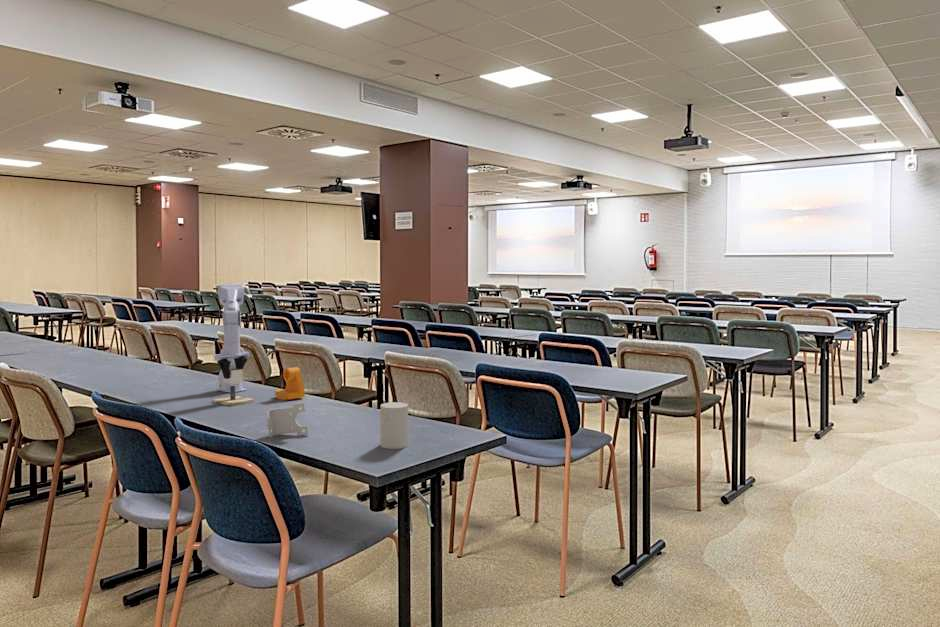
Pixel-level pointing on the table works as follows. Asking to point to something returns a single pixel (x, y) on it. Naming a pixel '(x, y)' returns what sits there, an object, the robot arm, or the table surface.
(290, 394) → the bracket
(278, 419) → the bracket
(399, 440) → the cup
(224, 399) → the post block
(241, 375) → the nut
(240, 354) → the robot arm
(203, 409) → the table surface
